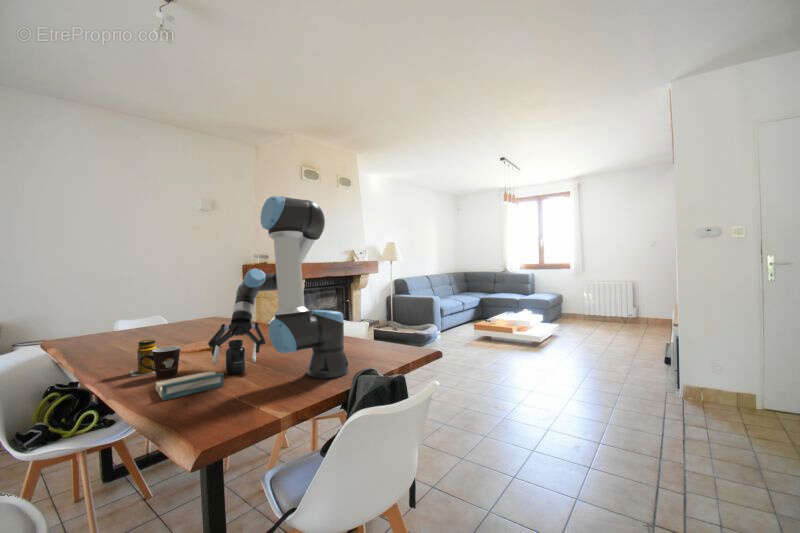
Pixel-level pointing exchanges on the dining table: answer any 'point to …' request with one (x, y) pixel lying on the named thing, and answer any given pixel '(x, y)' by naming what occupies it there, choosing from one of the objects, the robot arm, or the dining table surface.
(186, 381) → the teal and cream book
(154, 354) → the coffee mug
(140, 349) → the condiment
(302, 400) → the dining table surface
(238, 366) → the supplement bottle
